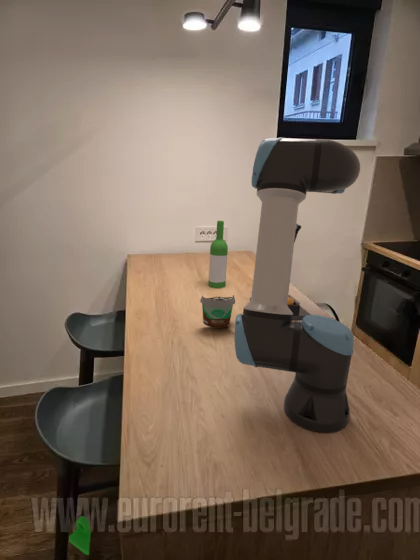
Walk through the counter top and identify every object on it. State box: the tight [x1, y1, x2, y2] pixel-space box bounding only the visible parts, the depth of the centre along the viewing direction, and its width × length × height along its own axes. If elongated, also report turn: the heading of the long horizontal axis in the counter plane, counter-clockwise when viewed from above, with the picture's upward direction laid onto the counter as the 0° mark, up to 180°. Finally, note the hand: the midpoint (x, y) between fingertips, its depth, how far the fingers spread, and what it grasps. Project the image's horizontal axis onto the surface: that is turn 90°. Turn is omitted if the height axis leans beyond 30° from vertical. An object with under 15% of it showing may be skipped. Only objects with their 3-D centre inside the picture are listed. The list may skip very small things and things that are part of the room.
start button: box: [287, 296, 295, 305], centre depth 140 cm, size 4×4×3 cm
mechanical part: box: [68, 515, 92, 556], centre depth 146 cm, size 12×6×8 cm, turn 58°
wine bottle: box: [208, 220, 229, 289], centre depth 168 cm, size 8×8×30 cm
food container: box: [199, 294, 236, 329], centre depth 129 cm, size 12×6×10 cm, turn 105°
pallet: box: [249, 294, 313, 321], centre depth 148 cm, size 21×17×6 cm
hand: (279, 267), depth 147 cm, fingers closed
